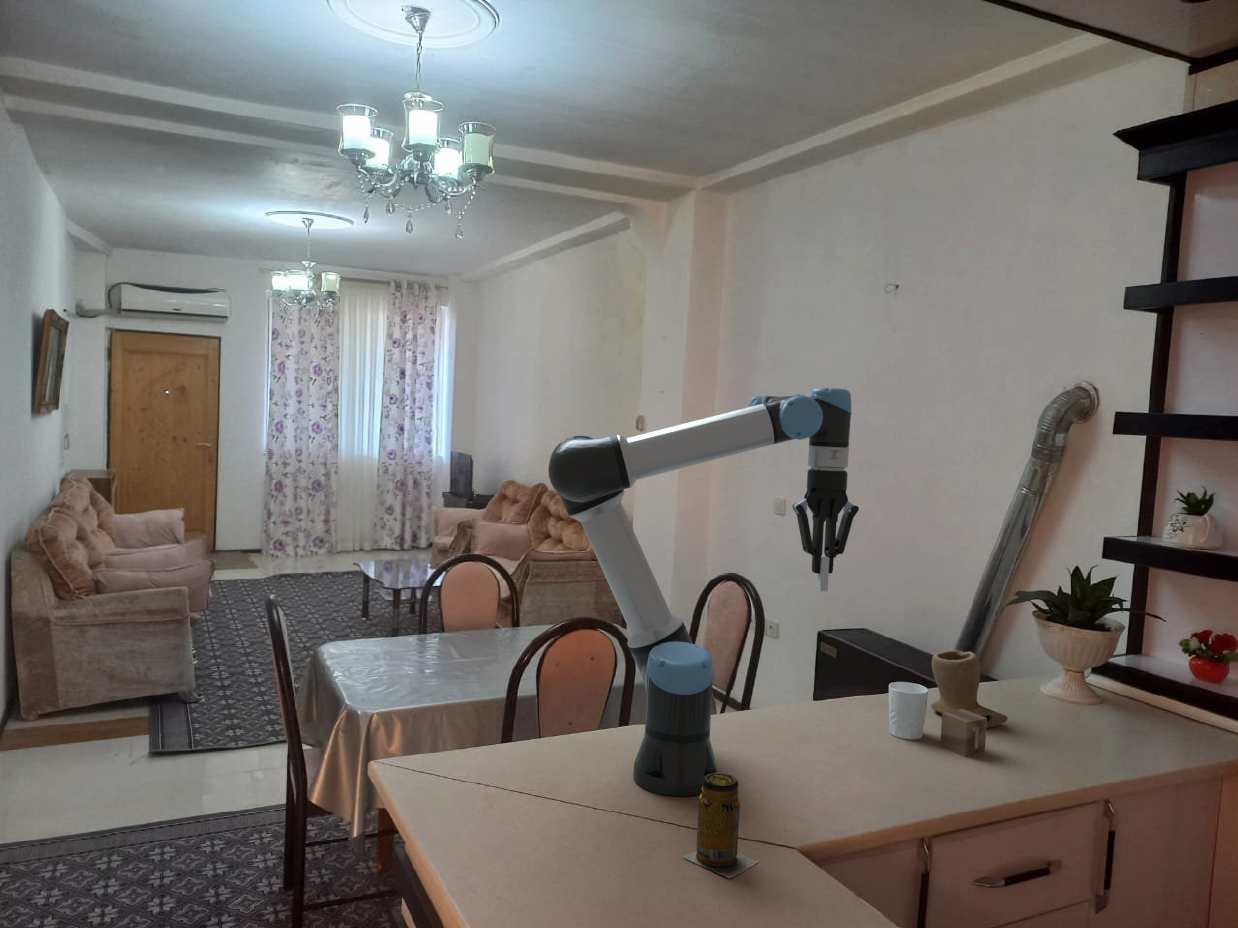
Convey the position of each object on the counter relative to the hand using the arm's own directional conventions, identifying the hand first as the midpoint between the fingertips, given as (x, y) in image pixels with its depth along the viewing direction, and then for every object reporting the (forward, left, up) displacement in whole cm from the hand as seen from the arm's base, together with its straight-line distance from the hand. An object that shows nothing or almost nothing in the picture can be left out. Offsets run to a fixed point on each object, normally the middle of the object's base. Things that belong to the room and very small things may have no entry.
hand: (821, 589), depth 173 cm
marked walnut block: (+32, 0, -33) cm, 46 cm away
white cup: (+24, +9, -33) cm, 42 cm away
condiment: (-30, -39, -33) cm, 59 cm away
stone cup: (+42, +17, -33) cm, 56 cm away
